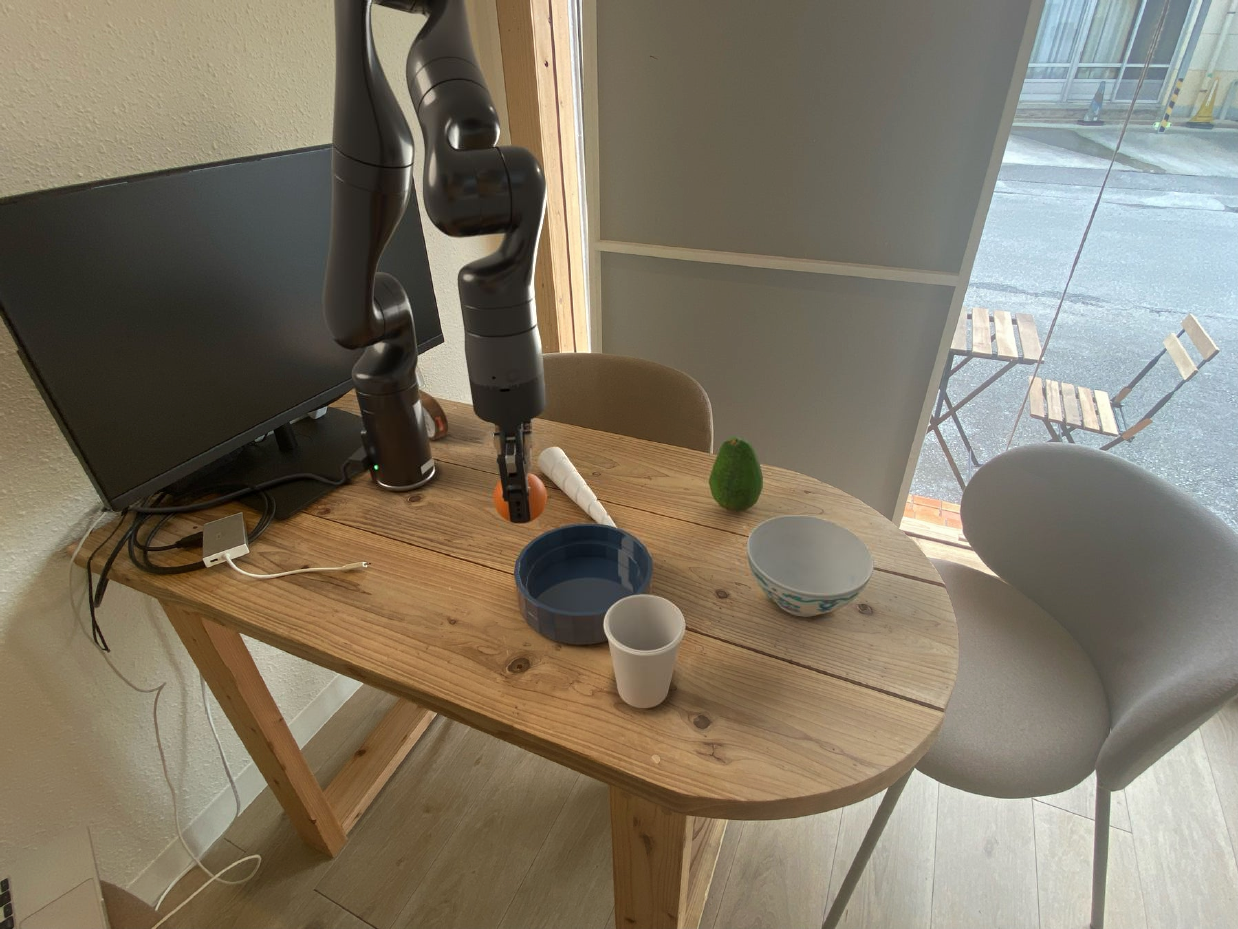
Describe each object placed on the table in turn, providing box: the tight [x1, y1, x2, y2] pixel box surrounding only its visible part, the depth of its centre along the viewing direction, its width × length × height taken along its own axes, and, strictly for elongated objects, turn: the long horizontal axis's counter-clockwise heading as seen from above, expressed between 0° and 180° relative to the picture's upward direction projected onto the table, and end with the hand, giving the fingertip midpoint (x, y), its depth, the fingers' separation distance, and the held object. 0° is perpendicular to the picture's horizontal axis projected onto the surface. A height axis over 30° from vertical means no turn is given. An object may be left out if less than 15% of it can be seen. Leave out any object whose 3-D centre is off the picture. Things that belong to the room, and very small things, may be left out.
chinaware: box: [746, 514, 875, 618], centre depth 80 cm, size 15×15×8 cm
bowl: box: [513, 522, 654, 645], centre depth 81 cm, size 17×17×6 cm
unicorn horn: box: [537, 446, 618, 528], centre depth 98 cm, size 5×24×5 cm, turn 28°
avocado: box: [708, 436, 764, 512], centre depth 96 cm, size 8×8×12 cm
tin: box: [419, 388, 450, 441], centre depth 118 cm, size 15×3×8 cm, turn 47°
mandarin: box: [493, 472, 548, 525], centre depth 72 cm, size 6×6×6 cm
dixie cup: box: [604, 594, 686, 709], centre depth 68 cm, size 8×8×10 cm
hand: (521, 503), depth 73 cm, fingers closed on mandarin, 6 cm apart
